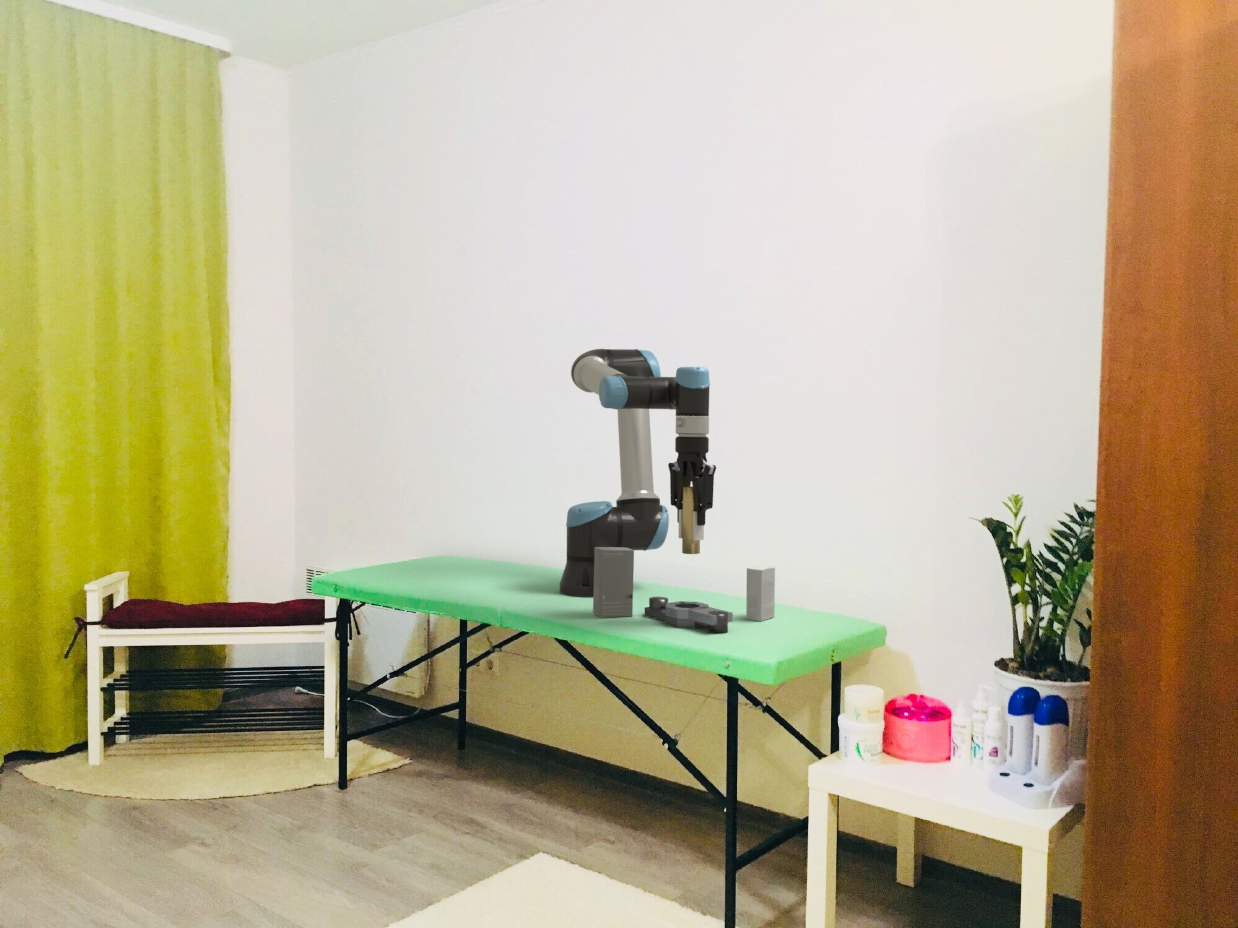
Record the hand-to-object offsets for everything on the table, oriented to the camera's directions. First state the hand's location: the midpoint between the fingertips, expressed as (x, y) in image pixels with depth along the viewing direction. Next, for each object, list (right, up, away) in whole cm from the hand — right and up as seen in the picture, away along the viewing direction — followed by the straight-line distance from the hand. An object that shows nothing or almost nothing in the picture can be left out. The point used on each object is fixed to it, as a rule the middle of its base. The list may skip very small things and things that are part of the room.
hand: (690, 538), depth 232 cm
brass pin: (0, -3, 0) cm, 3 cm away
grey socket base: (-1, -19, 0) cm, 19 cm away
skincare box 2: (+16, -19, +6) cm, 26 cm away
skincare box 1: (-18, -19, +8) cm, 27 cm away
